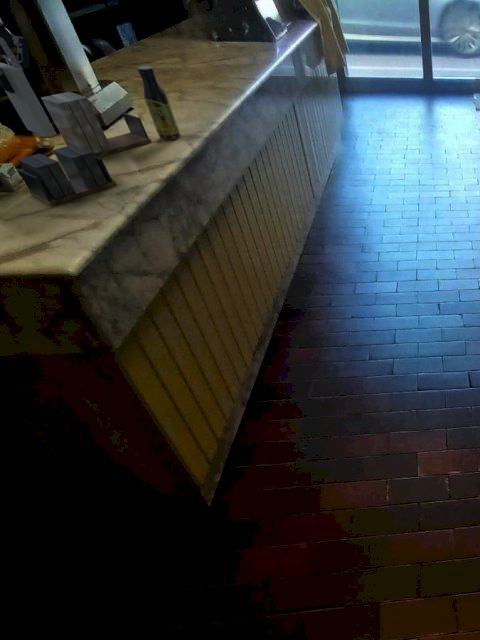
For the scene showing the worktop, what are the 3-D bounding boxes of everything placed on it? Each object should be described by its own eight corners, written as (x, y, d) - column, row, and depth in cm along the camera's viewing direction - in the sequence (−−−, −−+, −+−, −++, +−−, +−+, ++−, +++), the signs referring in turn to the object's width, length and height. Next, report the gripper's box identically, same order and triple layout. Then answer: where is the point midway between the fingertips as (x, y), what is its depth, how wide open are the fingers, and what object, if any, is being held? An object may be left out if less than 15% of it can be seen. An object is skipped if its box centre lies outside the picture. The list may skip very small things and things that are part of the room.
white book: (46, 137, 123) (9, 71, 113) (27, 129, 126) (-11, 64, 116) (57, 135, 124) (21, 69, 114) (38, 127, 127) (1, 62, 118)
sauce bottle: (155, 139, 163) (125, 68, 149) (170, 133, 168) (142, 63, 154) (172, 142, 162) (143, 70, 148) (187, 136, 166) (160, 66, 153)
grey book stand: (85, 161, 149) (55, 104, 138) (67, 153, 152) (36, 97, 142) (151, 142, 161) (128, 89, 151) (133, 135, 165) (109, 83, 155)
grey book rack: (52, 206, 128) (30, 170, 122) (31, 196, 132) (9, 160, 126) (116, 185, 138) (99, 151, 132) (95, 176, 142) (78, 142, 136)
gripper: (-4, -7, 112) (43, 82, 124) (-83, -1, 104) (-25, 94, 116) (13, -2, 110) (59, 88, 122) (-67, 4, 101) (-9, 101, 113)
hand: (18, 90), depth 119 cm, fingers closed on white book, 2 cm apart
